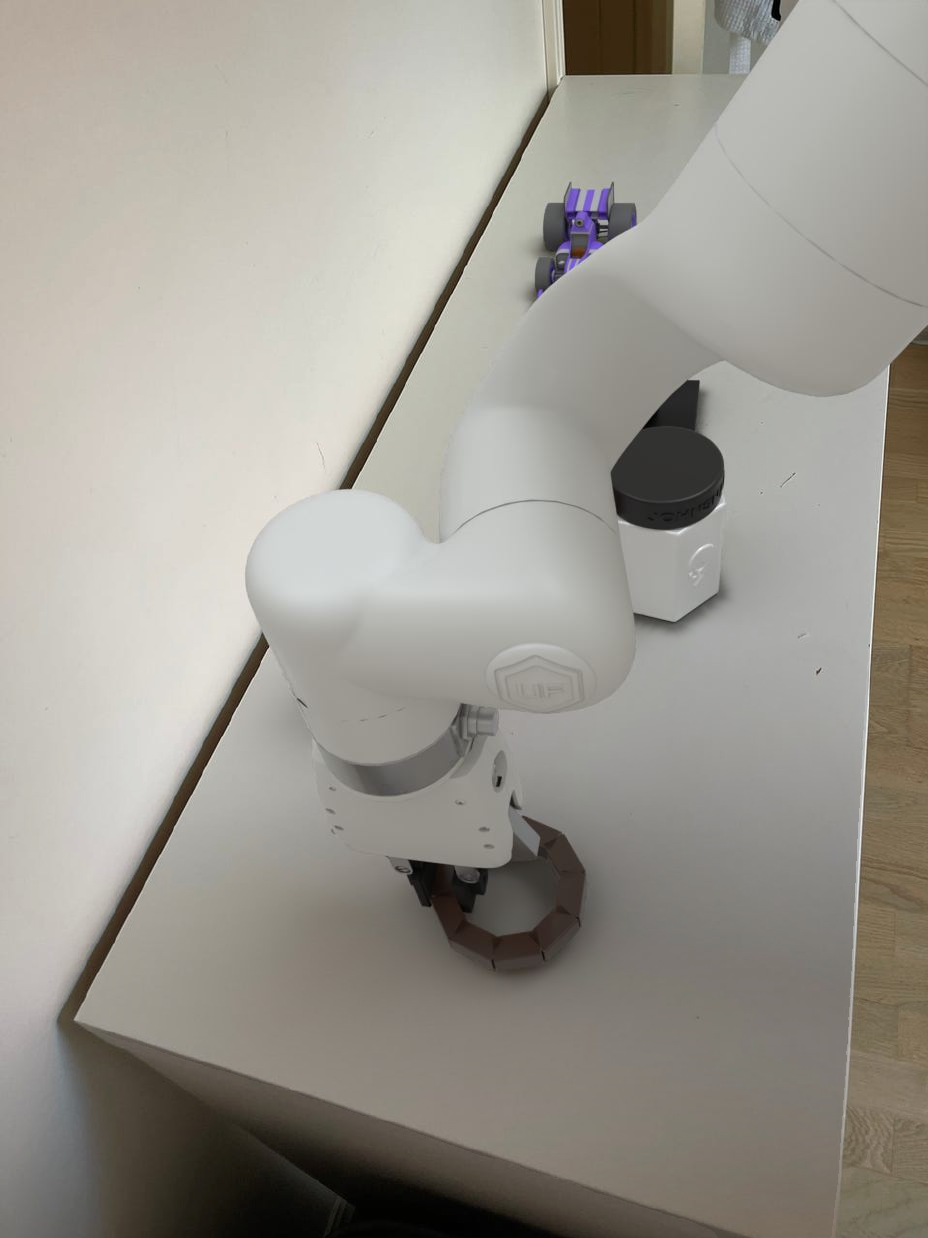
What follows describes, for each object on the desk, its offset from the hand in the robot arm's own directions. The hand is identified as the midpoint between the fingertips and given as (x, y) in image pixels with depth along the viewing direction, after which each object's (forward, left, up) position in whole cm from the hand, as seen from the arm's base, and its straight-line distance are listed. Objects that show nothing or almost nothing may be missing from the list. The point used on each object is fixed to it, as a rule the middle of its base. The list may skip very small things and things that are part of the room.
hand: (452, 886), depth 61 cm
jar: (-10, -28, -2) cm, 30 cm away
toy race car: (+2, -72, -2) cm, 72 cm away
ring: (-4, 0, 0) cm, 4 cm away
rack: (-7, -47, -2) cm, 48 cm away
